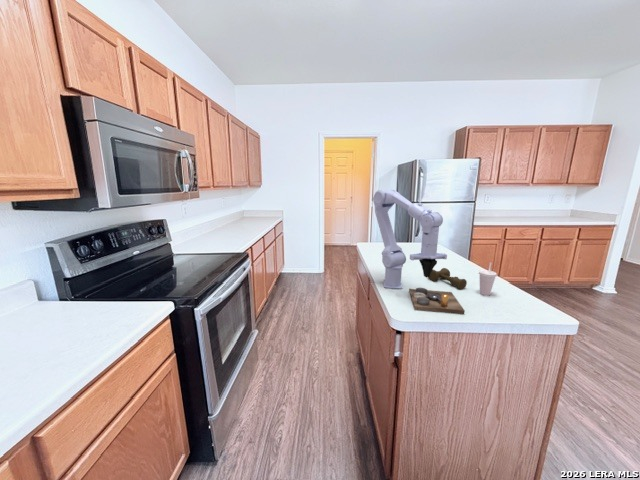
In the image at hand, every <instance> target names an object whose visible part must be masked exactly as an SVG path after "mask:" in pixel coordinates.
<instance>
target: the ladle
mask: <svg viewBox="0 0 640 480" xmlns="http://www.w3.org/2000/svg"><path fill="white" fill-rule="evenodd" d="M428 298H429V299H431V300H435V301H439V302H440V303H441V306H443V307H447V306H448V298H449V295H447V294H442V296H441V295H440V294H438V293H428Z"/></svg>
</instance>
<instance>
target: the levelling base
mask: <svg viewBox="0 0 640 480" xmlns="http://www.w3.org/2000/svg"><path fill="white" fill-rule="evenodd" d="M408 293H409V294H408V295H409V297H410V299H411V300H410V301H411V303H412V305H413V309H414V311H422V312H431V313H432V312H433V313H445V314H455V315H465V312H466V311H465V309H464V308H463V306H462V305H461V303H460V302H459V300H458V299H457V297H456V296H455V295H454V293H453V292H452V291H443V290H432V289H431V290H429V289H426V288H424V287H417V288H416V287H415V288H409V289H408ZM428 293H438V294H440V295H441V296H442V294H447V295H449V298H448V306H447V307H443V306H441V303H440V302H439V301H435V300H431V299H429V298H428Z"/></svg>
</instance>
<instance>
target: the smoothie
mask: <svg viewBox="0 0 640 480" xmlns="http://www.w3.org/2000/svg"><path fill="white" fill-rule="evenodd" d="M488 265H489V266H488V270H487V269H480V270H479V271H478V274H479V294H480V295H482V296H485V297H486V296H490V295H491V293H492V289H493V286H494V283H495V279H496V277H497V276H498V274H497V272H496V271H493V270H491V267H492V262H489V264H488Z"/></svg>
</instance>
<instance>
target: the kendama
mask: <svg viewBox="0 0 640 480" xmlns="http://www.w3.org/2000/svg"><path fill="white" fill-rule="evenodd" d="M427 279H428V280H429V281H431V282H433V283H434V282H437V281H438V279H443V280H446V281H448V282H449V283H450V285H451V286H455V287H456V288H457V289H459V290H464V289H465V288H466V287H467V284H468V282H467V279H465V278H459V277H458V276H451V272H450V270H449V269H448V268H446V267H443V268H441V269H440V270H436V269H433V270H432V272H431V274H430V277H427Z"/></svg>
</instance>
